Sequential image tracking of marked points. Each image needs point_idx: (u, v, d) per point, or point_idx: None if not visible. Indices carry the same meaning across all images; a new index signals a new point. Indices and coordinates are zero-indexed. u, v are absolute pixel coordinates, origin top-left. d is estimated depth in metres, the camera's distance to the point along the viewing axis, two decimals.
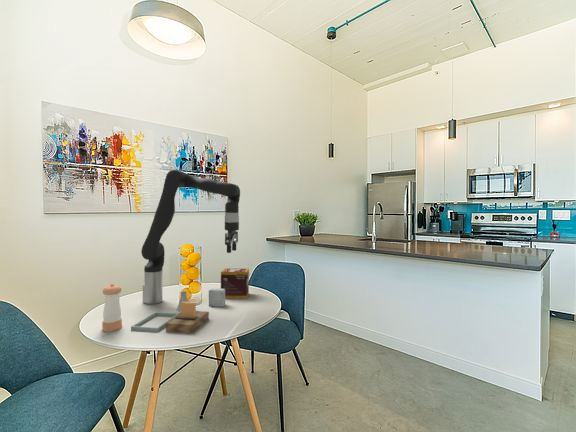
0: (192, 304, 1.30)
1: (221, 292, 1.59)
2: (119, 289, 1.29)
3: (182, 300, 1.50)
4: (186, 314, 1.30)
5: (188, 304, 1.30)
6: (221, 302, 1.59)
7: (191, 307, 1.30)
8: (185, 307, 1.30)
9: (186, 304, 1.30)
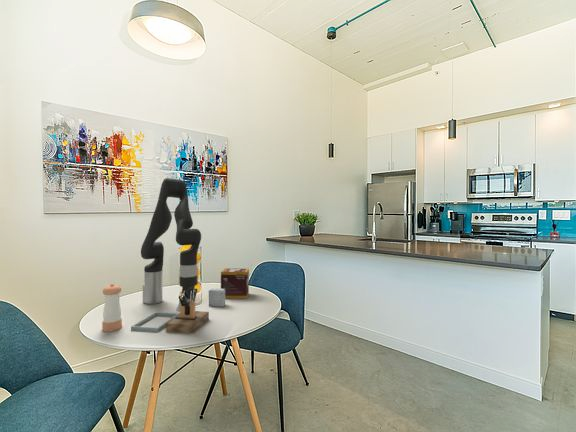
0: (192, 304, 1.30)
1: (221, 292, 1.59)
2: (119, 289, 1.29)
3: None
4: None
5: None
6: (221, 302, 1.59)
7: (191, 307, 1.30)
8: (184, 306, 1.31)
9: None
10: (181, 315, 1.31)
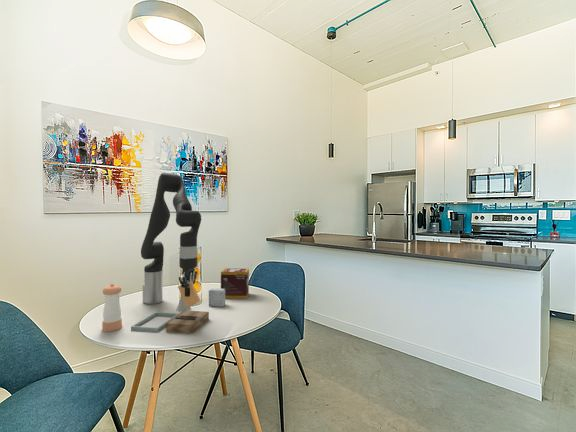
0: None
1: (221, 292, 1.59)
2: (119, 289, 1.29)
3: (182, 300, 1.50)
4: None
5: None
6: (221, 302, 1.59)
7: None
8: (183, 289, 1.30)
9: None
10: (184, 298, 1.30)
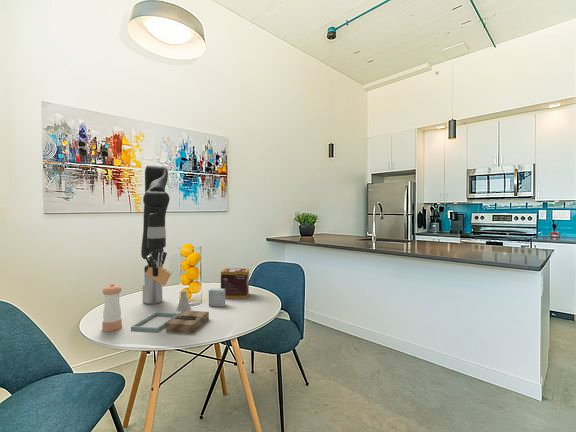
0: None
1: (221, 292, 1.59)
2: (119, 289, 1.29)
3: (182, 300, 1.50)
4: None
5: (149, 268, 1.33)
6: (221, 302, 1.59)
7: None
8: (150, 272, 1.33)
9: (148, 270, 1.33)
10: (156, 279, 1.32)
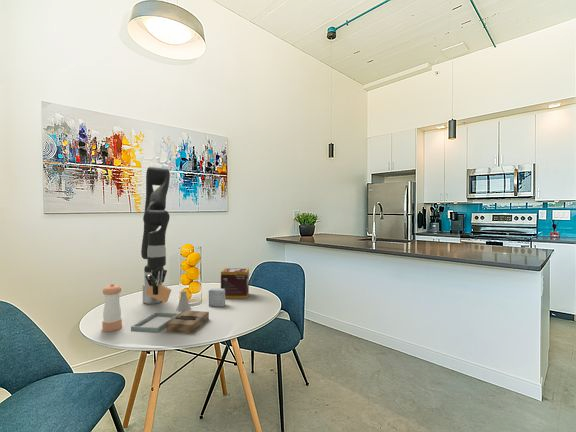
0: None
1: (221, 292, 1.59)
2: (119, 289, 1.29)
3: (182, 300, 1.50)
4: None
5: (149, 287, 1.33)
6: (221, 302, 1.59)
7: None
8: (150, 292, 1.33)
9: (148, 289, 1.33)
10: (157, 298, 1.32)
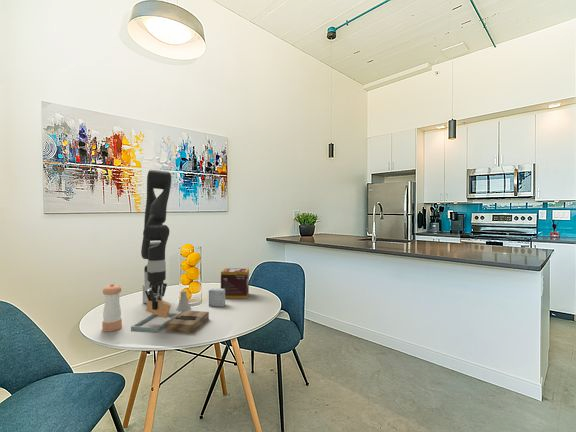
0: None
1: (221, 292, 1.59)
2: (119, 289, 1.29)
3: (182, 300, 1.50)
4: None
5: (148, 304, 1.33)
6: (221, 302, 1.59)
7: (151, 302, 1.33)
8: (150, 308, 1.33)
9: (148, 306, 1.33)
10: (157, 314, 1.32)
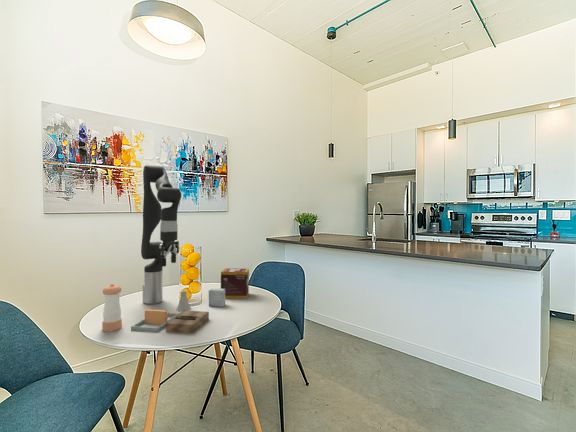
0: (145, 312, 1.33)
1: (221, 292, 1.59)
2: (119, 289, 1.29)
3: (182, 300, 1.50)
4: (154, 319, 1.33)
5: (145, 316, 1.33)
6: (221, 302, 1.59)
7: (148, 313, 1.33)
8: (148, 319, 1.33)
9: (145, 318, 1.33)
10: (156, 323, 1.33)
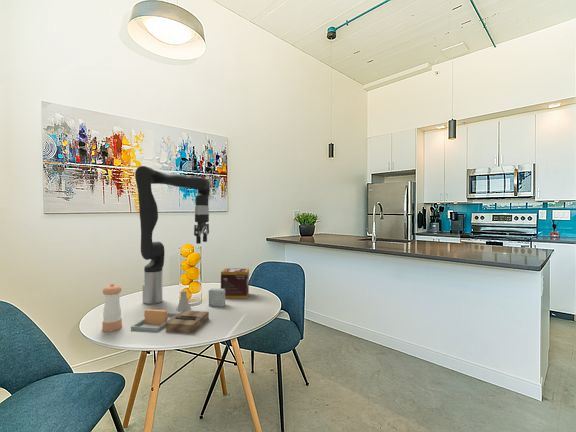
0: (145, 312, 1.33)
1: (221, 292, 1.59)
2: (119, 289, 1.29)
3: (182, 300, 1.50)
4: (154, 319, 1.33)
5: (145, 316, 1.33)
6: (221, 302, 1.59)
7: (148, 313, 1.33)
8: (148, 319, 1.33)
9: (145, 318, 1.33)
10: (156, 323, 1.33)
